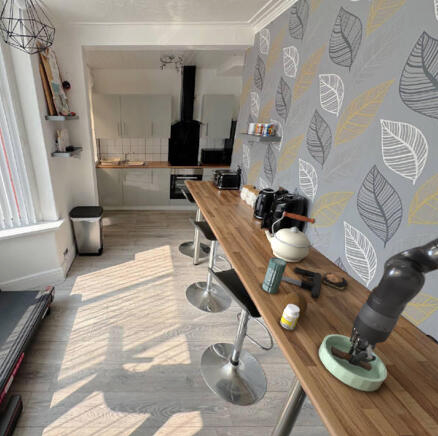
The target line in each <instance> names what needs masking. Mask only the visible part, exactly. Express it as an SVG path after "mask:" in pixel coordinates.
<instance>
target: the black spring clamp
mask: <svg viewBox="0 0 438 436" xmlns="http://www.w3.org/2000/svg"><path fill="white" fill-rule="evenodd" d="M293 272H294V273H295V274H299V275H302V279H301V280H299V279H296V278H292V277H289V276H286V275H283V277H282V280H281V281H284V282H286V283H290V284H292V285H295V286H299V288H300V289H302V290H306V291H309V292H310V296H311V298H312V299H314V300H318V299H319V297H320V298H322V296H321V295H320V294H321V293H320V292H321V284H322V279H324V277H322V274H321V273H320V272H318V271H317V272H314V271H311V270H308V269H304V268H300V267H297V266H296V267H294V269H293ZM304 276H306V277H305V278H306V279H311V280H312V282H311V281H308V280H305V279H304Z"/></svg>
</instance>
